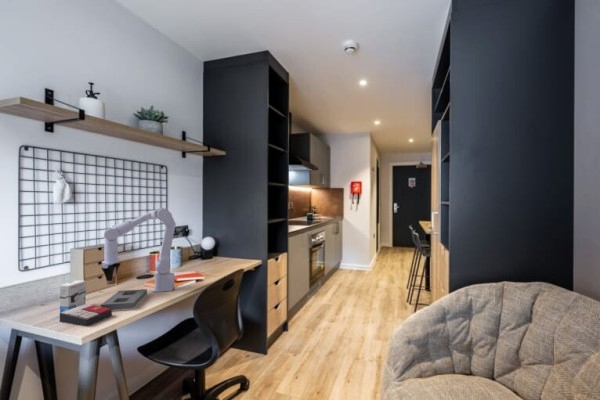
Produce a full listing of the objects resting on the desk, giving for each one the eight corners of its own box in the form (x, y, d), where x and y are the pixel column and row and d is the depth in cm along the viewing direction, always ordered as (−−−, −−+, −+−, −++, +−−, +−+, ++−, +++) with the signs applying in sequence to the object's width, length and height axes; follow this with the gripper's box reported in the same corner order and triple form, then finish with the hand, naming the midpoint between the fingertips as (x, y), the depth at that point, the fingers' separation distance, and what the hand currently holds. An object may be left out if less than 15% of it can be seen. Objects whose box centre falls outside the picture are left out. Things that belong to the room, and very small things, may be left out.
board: (147, 295, 152) (147, 289, 151) (133, 309, 132) (133, 302, 132) (119, 296, 149) (118, 290, 149) (100, 311, 129) (100, 304, 129)
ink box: (68, 313, 128) (68, 285, 128) (59, 312, 129) (59, 285, 129) (86, 306, 136) (86, 280, 136) (77, 305, 137) (77, 279, 137)
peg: (117, 282, 150) (117, 266, 150) (114, 284, 147) (114, 268, 147) (108, 282, 150) (108, 266, 150) (105, 284, 146) (105, 268, 146)
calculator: (87, 318, 114) (59, 311, 119) (86, 329, 114) (58, 322, 119) (112, 308, 125) (86, 302, 129) (112, 318, 125) (85, 312, 129)
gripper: (108, 250, 154) (108, 276, 154) (95, 255, 140) (95, 283, 140) (123, 249, 156) (123, 275, 156) (111, 254, 142) (111, 283, 142)
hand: (111, 279), depth 148 cm, fingers closed on peg, 4 cm apart
